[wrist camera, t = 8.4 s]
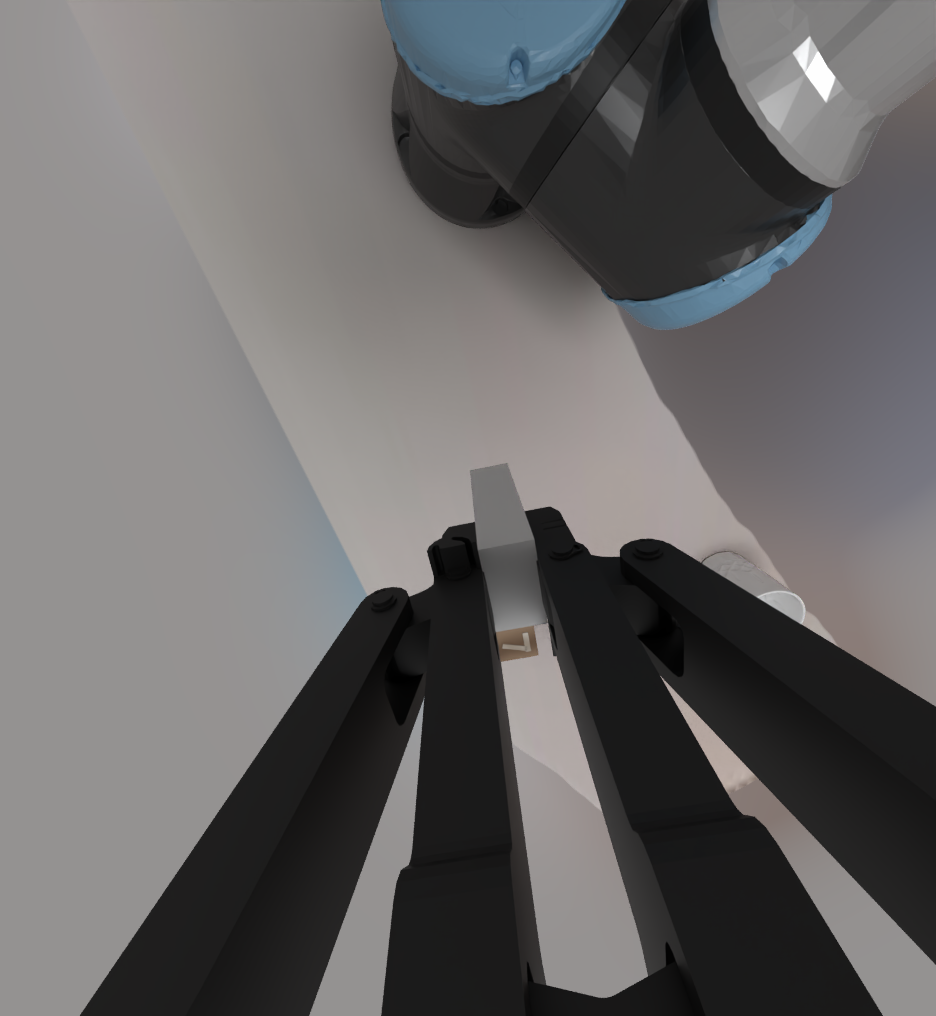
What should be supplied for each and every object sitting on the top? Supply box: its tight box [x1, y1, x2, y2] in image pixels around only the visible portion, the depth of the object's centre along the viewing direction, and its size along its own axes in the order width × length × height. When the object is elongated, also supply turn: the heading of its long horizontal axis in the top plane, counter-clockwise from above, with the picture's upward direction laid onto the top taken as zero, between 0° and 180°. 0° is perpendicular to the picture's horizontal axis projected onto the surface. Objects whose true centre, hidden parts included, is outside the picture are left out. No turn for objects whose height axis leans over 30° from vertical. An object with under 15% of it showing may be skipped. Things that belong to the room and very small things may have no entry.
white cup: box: [702, 552, 805, 624], centre depth 53 cm, size 8×8×10 cm
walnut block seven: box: [496, 626, 538, 662], centre depth 58 cm, size 5×5×5 cm
